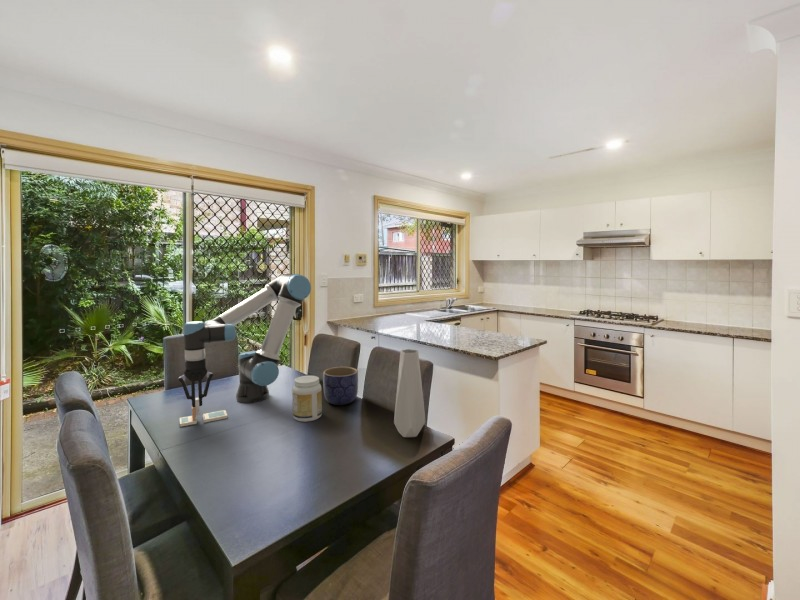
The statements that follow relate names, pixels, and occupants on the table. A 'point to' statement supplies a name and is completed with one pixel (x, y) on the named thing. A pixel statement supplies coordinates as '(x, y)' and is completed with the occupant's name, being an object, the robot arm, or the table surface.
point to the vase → (409, 395)
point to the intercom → (189, 419)
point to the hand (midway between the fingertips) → (197, 413)
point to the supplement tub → (307, 398)
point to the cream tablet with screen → (214, 416)
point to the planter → (340, 385)
